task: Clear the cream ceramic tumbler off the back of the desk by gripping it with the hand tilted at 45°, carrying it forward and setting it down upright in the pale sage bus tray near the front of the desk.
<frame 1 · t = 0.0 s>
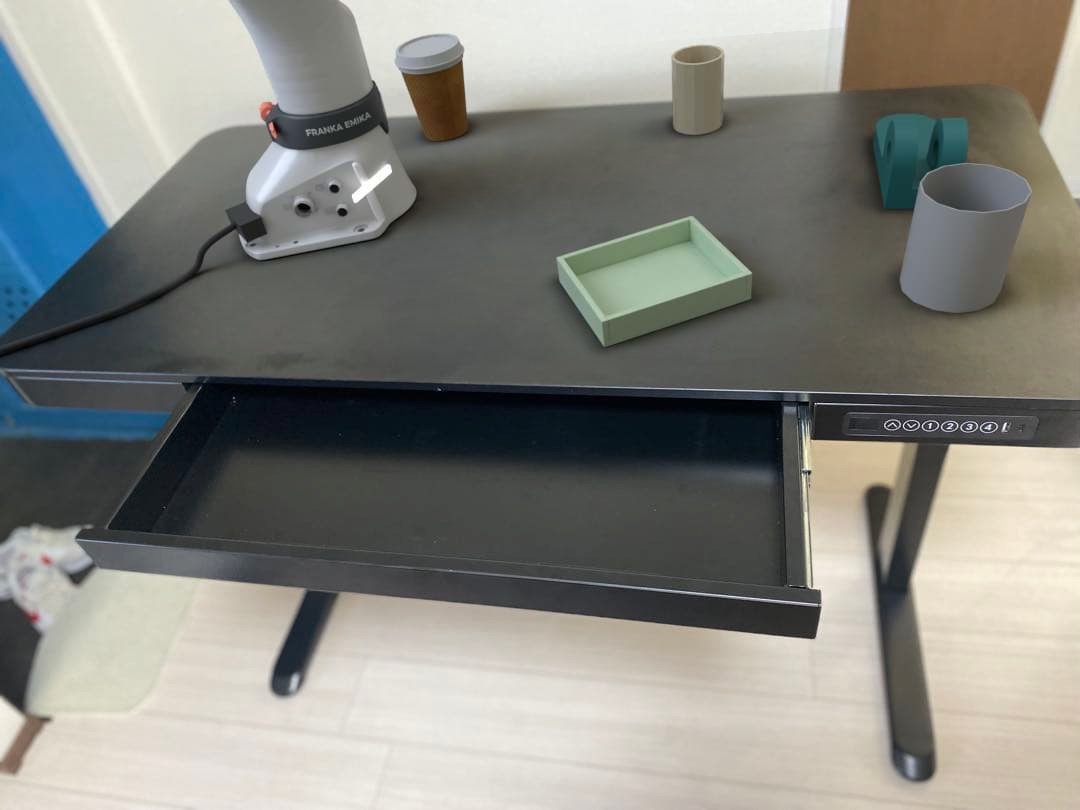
cup: (948, 287, 73), on the table
disposable coffee cup: (446, 132, 114), on the table
tumbler: (697, 124, 104), on the table
bus tray: (651, 290, 79), on the table
bracket: (909, 169, 89), on the table
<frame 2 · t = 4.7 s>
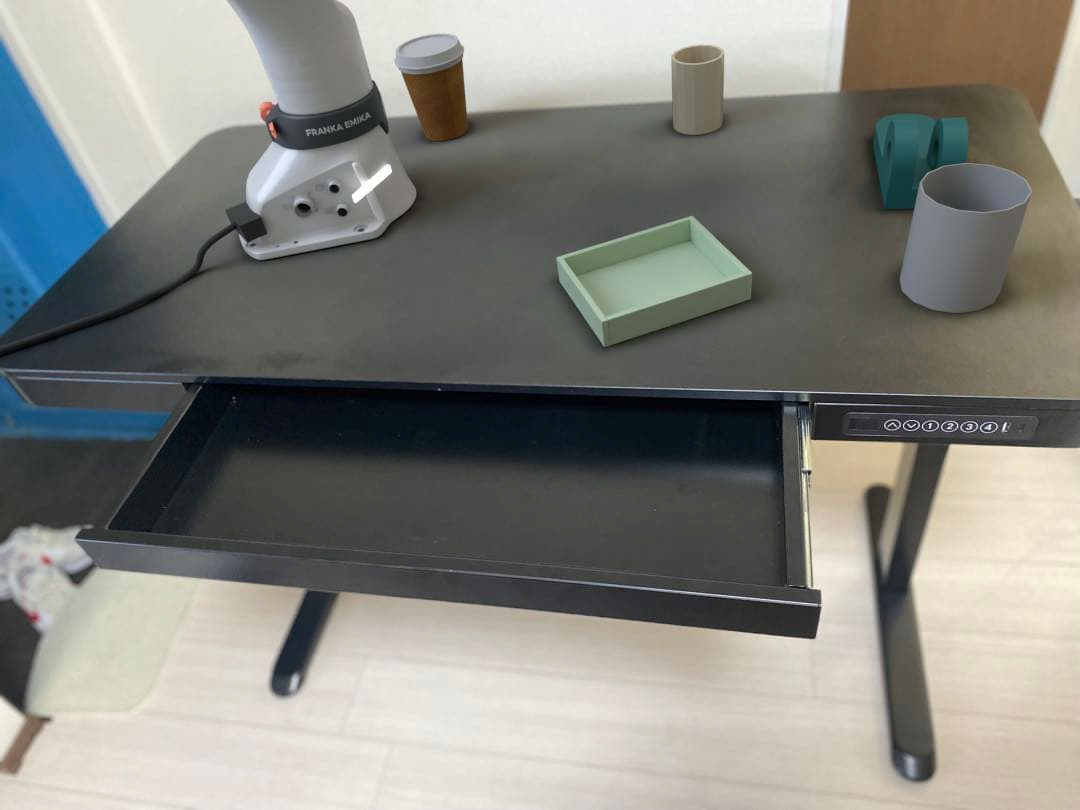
nothing on the table moved.
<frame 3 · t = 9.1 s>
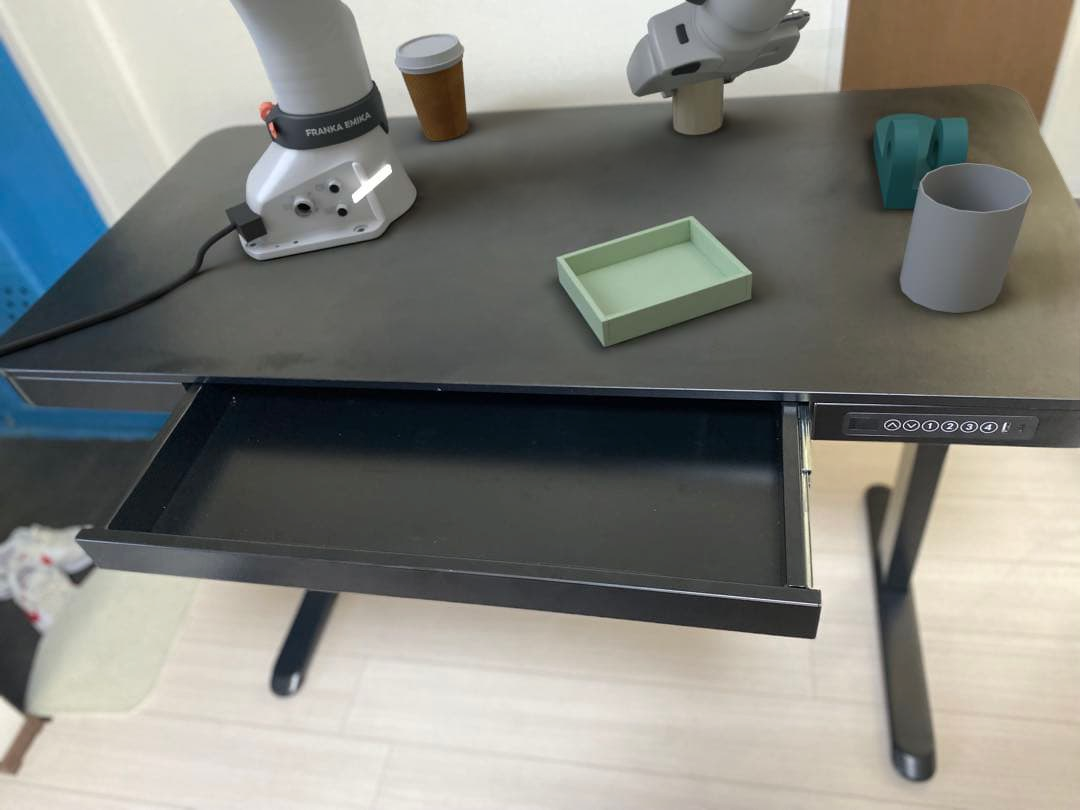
hand: (695, 85, 101), 5 cm above the table, tool tilted 45°, fingers closed on tumbler, 6 cm apart
tumbler: (697, 124, 104), on the table, touching gripper
everything else where it was.
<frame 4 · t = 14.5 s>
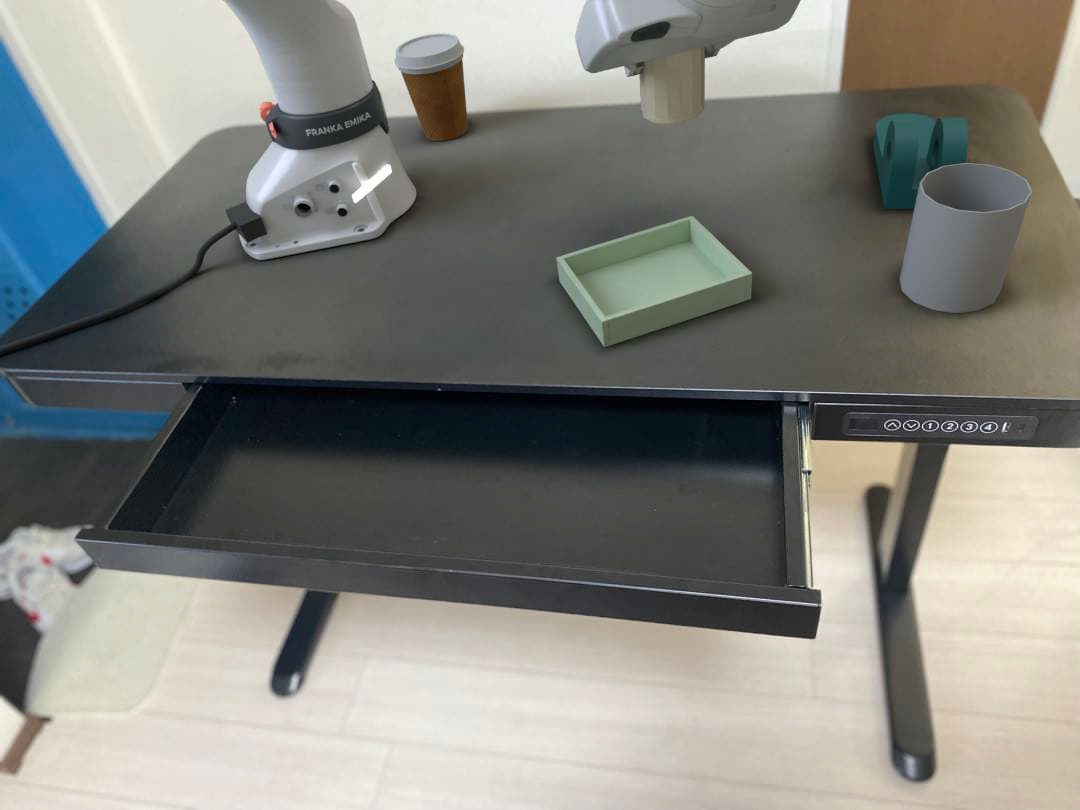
hand: (668, 60, 79), 16 cm above the table, tool tilted 45°, fingers closed on tumbler, 6 cm apart
tumbler: (672, 110, 82), point 12 cm above the table, touching gripper
everything else where it was.
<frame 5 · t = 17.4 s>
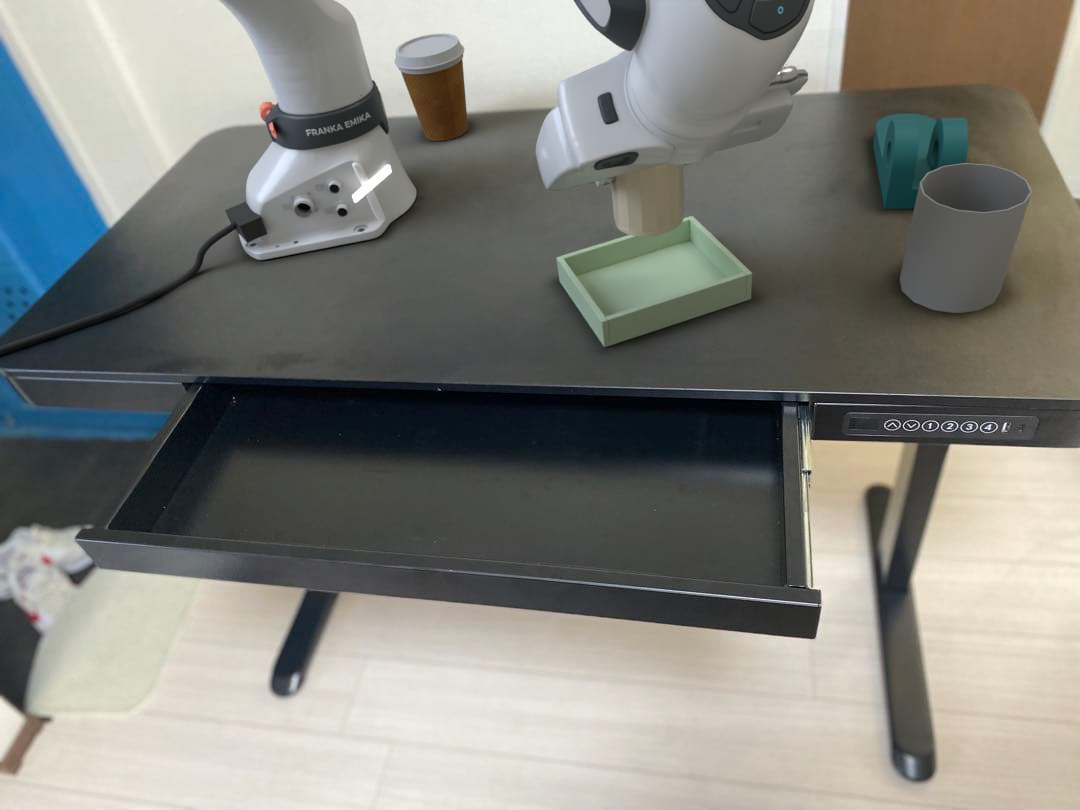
hand: (643, 166, 71), 13 cm above the table, tool tilted 45°, fingers closed on tumbler, 6 cm apart
tumbler: (649, 218, 73), point 8 cm above the table, touching gripper
everything else where it was.
when the fingers open (5 cm above the table, at t = 20.0 s): tumbler stays where it is, resting on bus tray.
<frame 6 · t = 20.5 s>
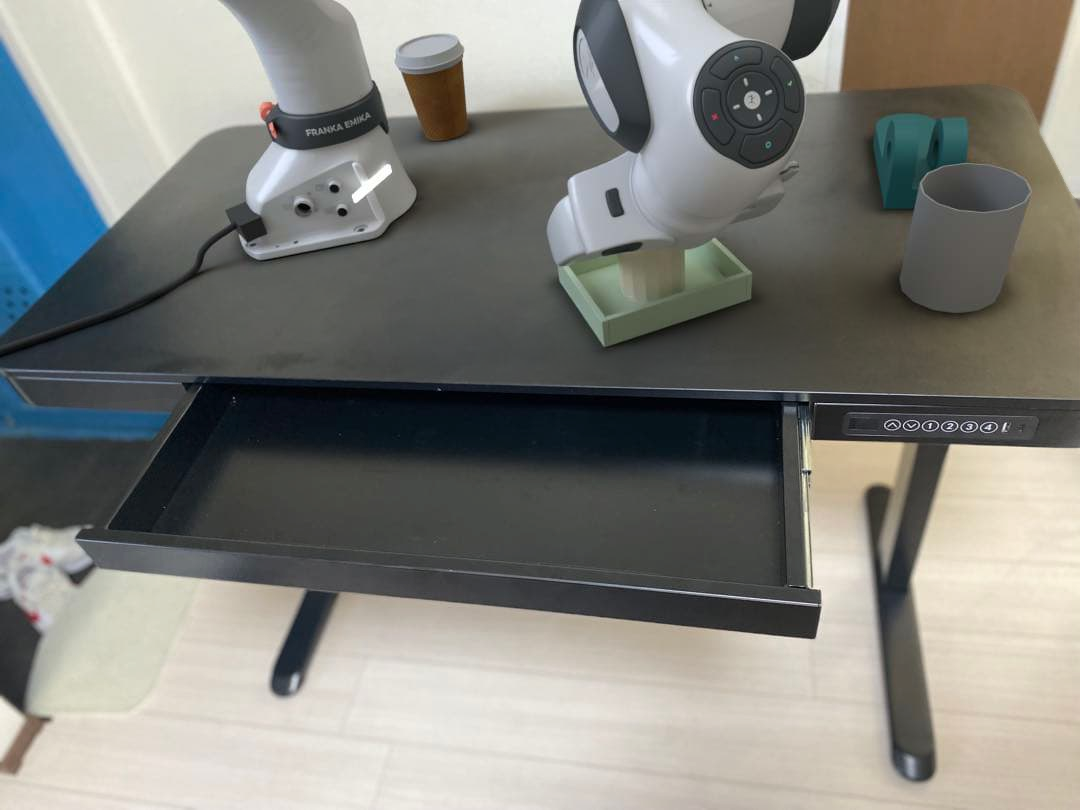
hand: (646, 237, 75), 6 cm above the table, tool tilted 45°, fingers open, 8 cm apart
tumbler: (652, 286, 78), resting on bus tray
everything else where it was.
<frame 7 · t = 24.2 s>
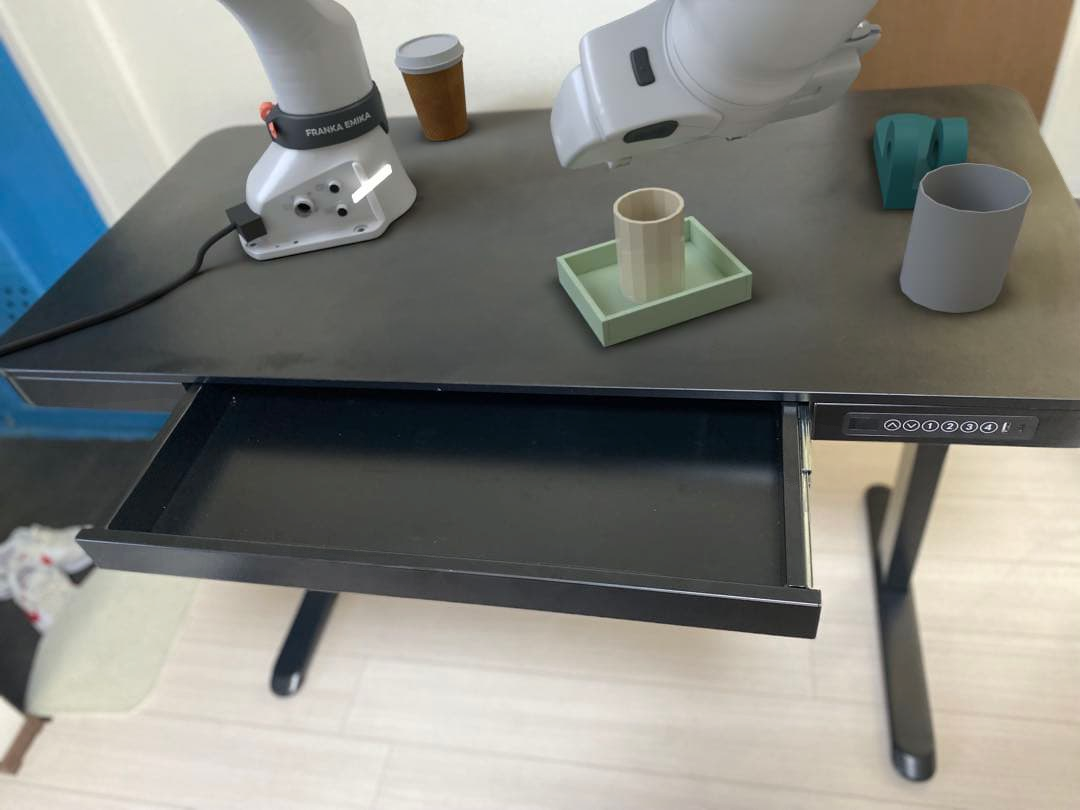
hand: (674, 143, 60), 19 cm above the table, tool tilted 45°, fingers open, 8 cm apart
nothing on the table moved.
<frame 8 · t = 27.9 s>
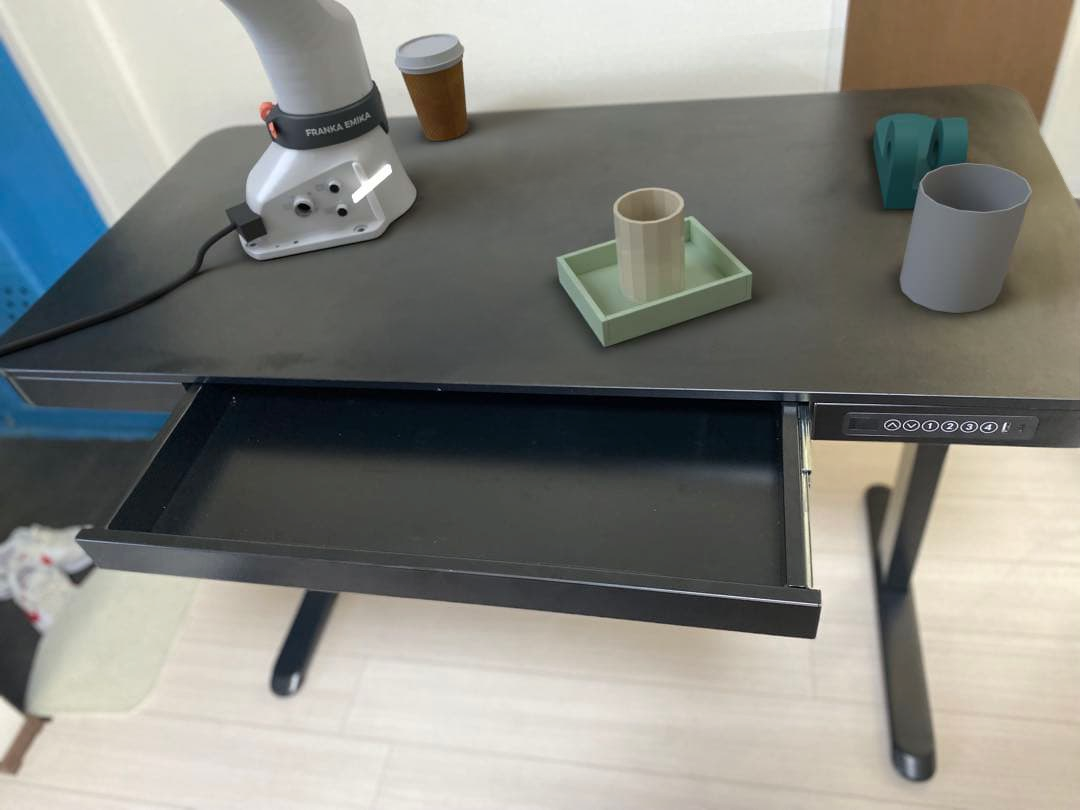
nothing on the table moved.
at the end: tumbler inside the target area in the bus tray (0.1 cm from its centre), point 0.5 cm above the bus tray's base; tumbler tilted 0°; the gripper is holding nothing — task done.
